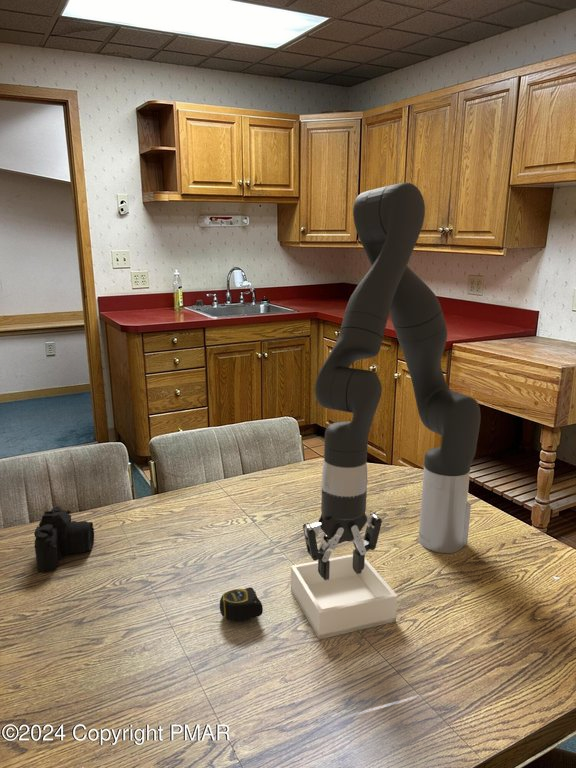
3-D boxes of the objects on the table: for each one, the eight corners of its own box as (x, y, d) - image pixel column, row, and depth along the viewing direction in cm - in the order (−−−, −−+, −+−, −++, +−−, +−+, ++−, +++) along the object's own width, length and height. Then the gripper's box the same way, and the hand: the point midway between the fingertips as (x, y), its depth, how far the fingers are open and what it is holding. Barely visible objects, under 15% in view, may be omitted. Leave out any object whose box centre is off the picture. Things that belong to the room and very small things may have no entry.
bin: (359, 576, 109) (360, 552, 108) (395, 621, 96) (397, 595, 95) (290, 589, 105) (290, 565, 103) (319, 639, 92) (319, 612, 91)
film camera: (84, 572, 110) (80, 530, 108) (32, 576, 109) (26, 534, 106) (99, 533, 124) (95, 495, 122) (52, 536, 123) (48, 498, 121)
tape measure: (264, 622, 94) (263, 600, 94) (223, 629, 93) (221, 607, 93) (256, 604, 101) (255, 583, 101) (218, 611, 99) (216, 590, 99)
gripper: (372, 471, 100) (368, 556, 105) (296, 481, 96) (294, 570, 100) (393, 488, 94) (388, 579, 98) (312, 500, 89) (309, 594, 93)
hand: (340, 574), depth 99 cm, fingers open, 5 cm apart
